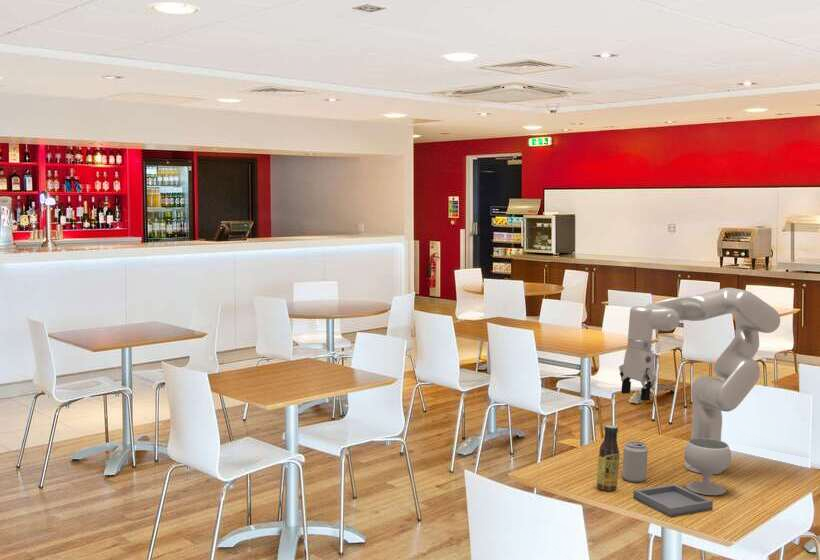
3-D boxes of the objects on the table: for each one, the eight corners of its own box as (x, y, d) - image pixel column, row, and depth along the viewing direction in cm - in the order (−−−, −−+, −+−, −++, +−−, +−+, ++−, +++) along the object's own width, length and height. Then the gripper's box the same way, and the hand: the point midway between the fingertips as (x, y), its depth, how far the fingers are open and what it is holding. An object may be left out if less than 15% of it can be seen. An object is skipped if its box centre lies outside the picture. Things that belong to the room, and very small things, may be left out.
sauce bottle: (605, 493, 264) (608, 430, 262) (592, 486, 270) (595, 424, 268) (621, 490, 267) (625, 427, 265) (608, 484, 273) (611, 422, 271)
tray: (673, 491, 268) (674, 484, 267) (712, 509, 253) (712, 501, 253) (633, 498, 261) (633, 490, 260) (670, 517, 246) (670, 508, 246)
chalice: (704, 480, 280) (707, 434, 278) (738, 493, 267) (742, 446, 266) (672, 485, 273) (675, 439, 272) (705, 500, 261) (709, 451, 260)
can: (646, 484, 274) (648, 447, 273) (622, 482, 275) (624, 445, 274) (645, 476, 281) (647, 440, 280) (621, 474, 283) (623, 438, 282)
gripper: (666, 349, 272) (662, 402, 274) (631, 340, 288) (627, 390, 289) (647, 350, 269) (643, 403, 270) (613, 340, 285) (609, 391, 286)
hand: (635, 396), depth 280 cm, fingers open, 9 cm apart
